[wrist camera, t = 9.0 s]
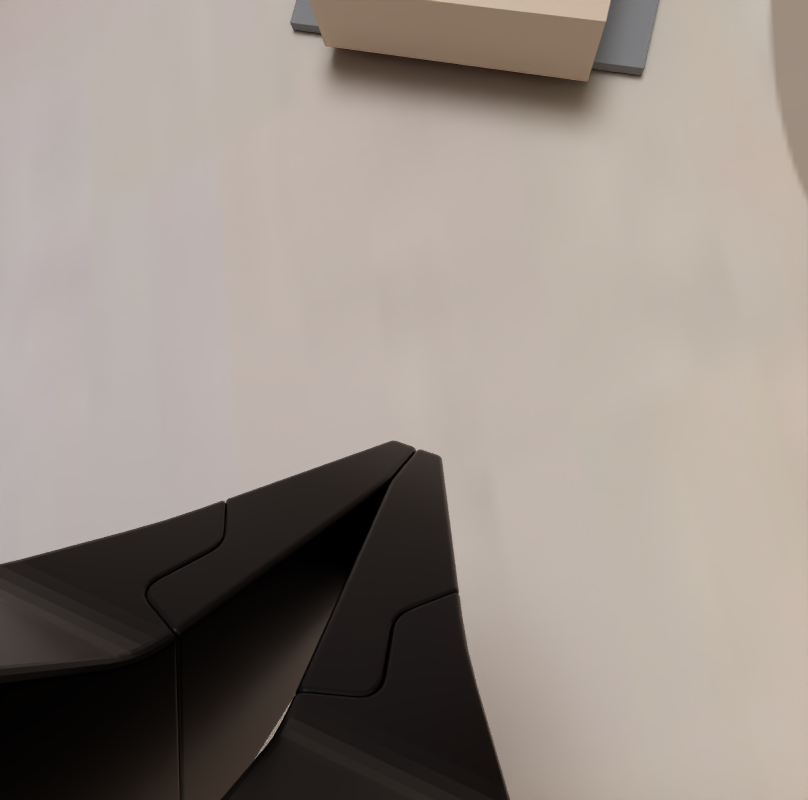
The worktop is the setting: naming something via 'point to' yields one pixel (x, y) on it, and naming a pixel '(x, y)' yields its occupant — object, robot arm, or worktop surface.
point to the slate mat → (617, 45)
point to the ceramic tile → (472, 32)
